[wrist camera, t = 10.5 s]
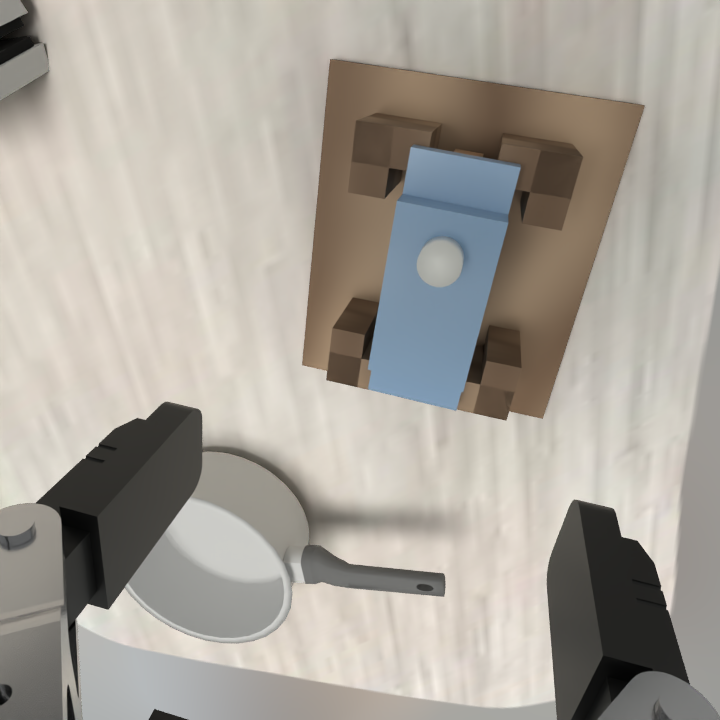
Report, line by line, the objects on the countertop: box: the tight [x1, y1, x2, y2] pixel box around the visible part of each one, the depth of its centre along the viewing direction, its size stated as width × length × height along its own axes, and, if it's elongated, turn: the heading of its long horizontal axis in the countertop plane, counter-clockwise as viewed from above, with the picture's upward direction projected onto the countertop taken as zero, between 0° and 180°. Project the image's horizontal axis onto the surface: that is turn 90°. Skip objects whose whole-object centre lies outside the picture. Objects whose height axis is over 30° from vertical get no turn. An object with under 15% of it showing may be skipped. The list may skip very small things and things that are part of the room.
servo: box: [368, 145, 521, 410], centre depth 25 cm, size 4×10×7 cm, turn 172°
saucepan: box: [124, 451, 445, 643], centre depth 36 cm, size 12×20×6 cm, turn 99°
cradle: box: [302, 59, 644, 420], centre depth 26 cm, size 13×15×4 cm
